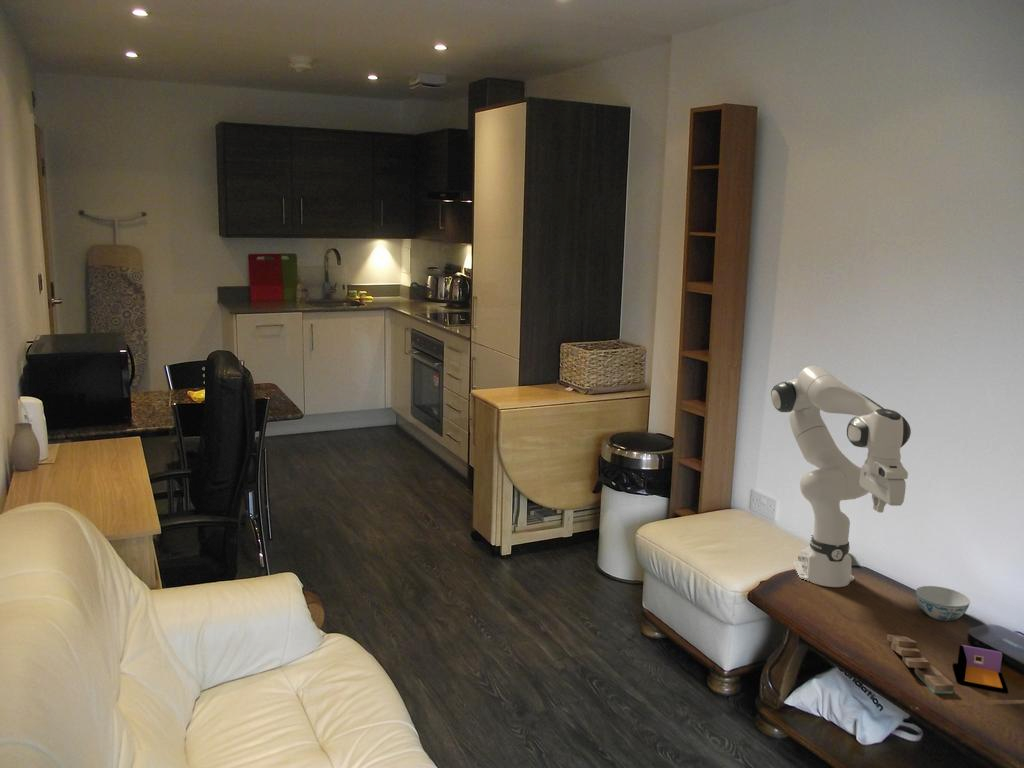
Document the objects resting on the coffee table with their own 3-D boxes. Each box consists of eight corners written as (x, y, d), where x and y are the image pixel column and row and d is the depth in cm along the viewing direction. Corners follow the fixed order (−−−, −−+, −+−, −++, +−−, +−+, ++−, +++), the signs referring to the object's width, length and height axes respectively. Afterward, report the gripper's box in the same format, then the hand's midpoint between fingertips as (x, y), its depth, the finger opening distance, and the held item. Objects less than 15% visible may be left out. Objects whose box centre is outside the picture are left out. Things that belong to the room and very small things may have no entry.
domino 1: (887, 640, 243) (898, 646, 233) (887, 634, 243) (898, 640, 234) (905, 642, 243) (917, 648, 233) (905, 636, 243) (917, 642, 233)
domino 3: (902, 661, 231) (909, 667, 222) (902, 655, 231) (908, 661, 222) (922, 662, 230) (929, 668, 220) (921, 656, 230) (929, 662, 221)
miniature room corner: (951, 664, 231) (954, 641, 230) (1001, 673, 226) (1004, 650, 225) (956, 685, 220) (959, 660, 219) (1008, 695, 215) (1012, 670, 214)
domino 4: (914, 671, 224) (934, 691, 214) (915, 666, 224) (935, 685, 214) (932, 671, 224) (953, 691, 214) (933, 666, 224) (954, 685, 214)
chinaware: (912, 622, 256) (914, 599, 254) (914, 604, 269) (916, 582, 267) (967, 634, 249) (970, 610, 247) (966, 615, 262) (969, 592, 260)
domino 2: (891, 648, 238) (901, 655, 229) (891, 643, 239) (901, 649, 229) (909, 650, 238) (920, 657, 228) (910, 645, 238) (920, 651, 228)
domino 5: (914, 676, 225) (933, 695, 215) (915, 670, 225) (934, 690, 215) (933, 676, 225) (952, 696, 215) (933, 671, 225) (953, 690, 215)
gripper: (856, 456, 252) (851, 500, 254) (889, 474, 232) (884, 522, 234) (876, 456, 252) (871, 500, 255) (911, 475, 232) (906, 522, 234)
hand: (878, 511), depth 244 cm, fingers closed
